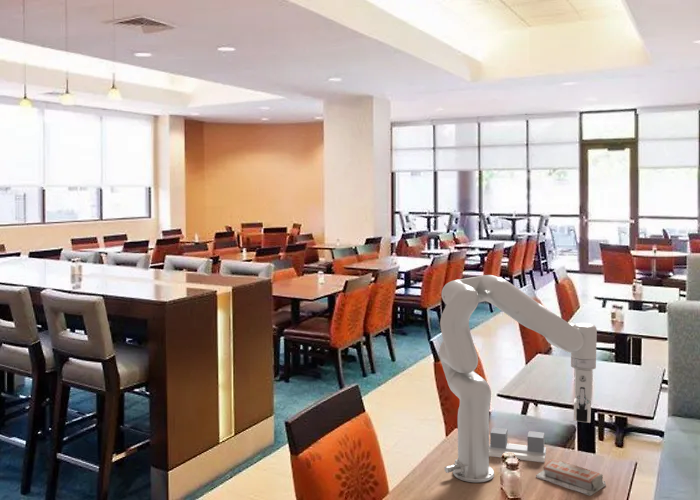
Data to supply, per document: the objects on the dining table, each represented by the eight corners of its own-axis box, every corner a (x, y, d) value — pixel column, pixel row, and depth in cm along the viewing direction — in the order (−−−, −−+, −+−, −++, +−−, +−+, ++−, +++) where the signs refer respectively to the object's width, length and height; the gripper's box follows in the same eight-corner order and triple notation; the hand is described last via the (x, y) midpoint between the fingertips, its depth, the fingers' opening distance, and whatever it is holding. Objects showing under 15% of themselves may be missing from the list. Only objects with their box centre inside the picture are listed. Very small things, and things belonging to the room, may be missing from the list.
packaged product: (607, 470, 197) (591, 481, 190) (607, 486, 197) (590, 498, 190) (552, 453, 210) (535, 463, 203) (552, 468, 210) (535, 478, 203)
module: (573, 420, 210) (574, 400, 209) (574, 415, 215) (574, 395, 214) (590, 422, 208) (590, 402, 208) (590, 417, 213) (591, 397, 212)
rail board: (488, 455, 220) (488, 434, 219) (491, 445, 228) (491, 425, 228) (544, 462, 214) (544, 440, 213) (546, 451, 222) (546, 430, 222)
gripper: (595, 370, 201) (594, 428, 202) (596, 356, 216) (594, 411, 218) (569, 368, 203) (568, 425, 205) (571, 355, 219) (570, 408, 221)
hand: (582, 417), depth 212 cm, fingers closed on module, 5 cm apart
